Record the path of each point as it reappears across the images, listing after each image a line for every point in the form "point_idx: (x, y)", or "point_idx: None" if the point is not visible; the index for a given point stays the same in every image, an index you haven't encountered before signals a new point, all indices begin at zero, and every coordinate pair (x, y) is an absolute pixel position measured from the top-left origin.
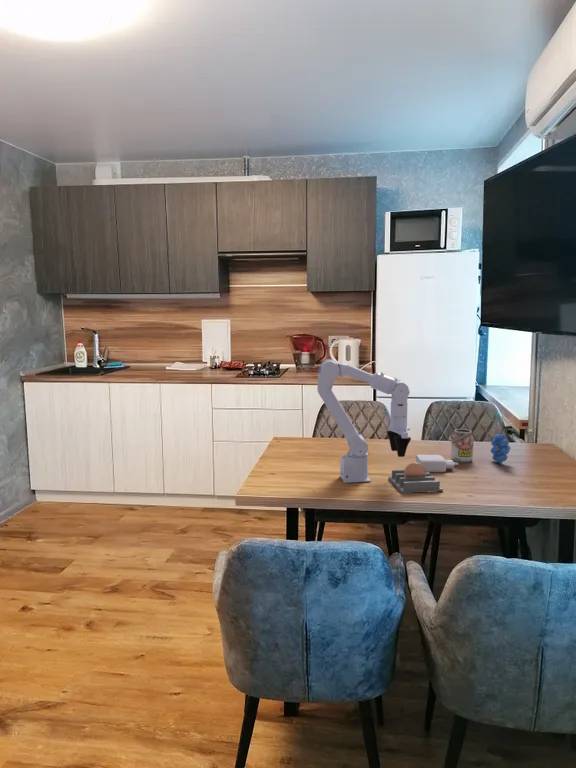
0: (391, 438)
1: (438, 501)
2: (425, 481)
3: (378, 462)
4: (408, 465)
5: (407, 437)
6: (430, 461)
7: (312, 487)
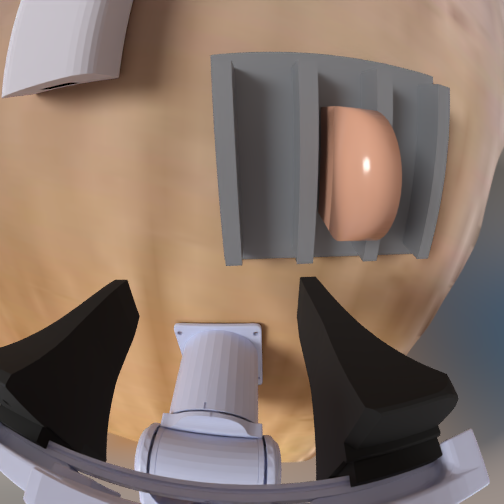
0: (104, 401)
1: (490, 152)
2: (441, 157)
3: (25, 239)
4: (366, 235)
5: (474, 436)
6: (97, 17)
7: (282, 421)
